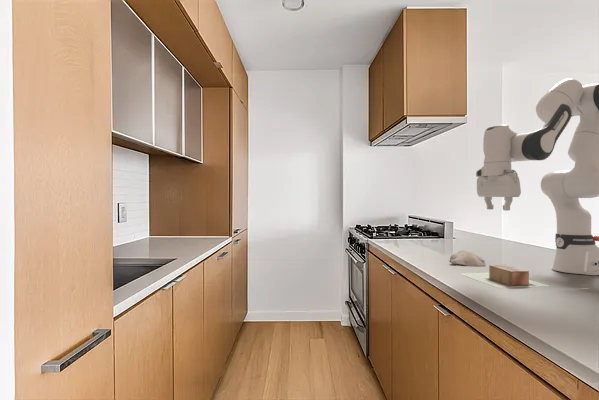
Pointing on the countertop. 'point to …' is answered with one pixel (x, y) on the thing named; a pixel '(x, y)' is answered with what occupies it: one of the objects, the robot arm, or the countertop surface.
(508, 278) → the walnut block
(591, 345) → the countertop surface
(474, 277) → the sage mat
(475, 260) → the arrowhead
